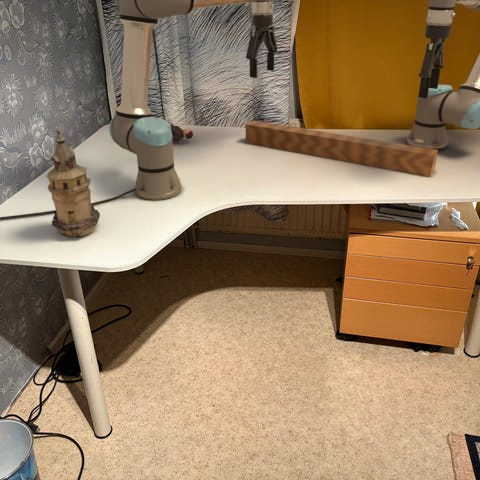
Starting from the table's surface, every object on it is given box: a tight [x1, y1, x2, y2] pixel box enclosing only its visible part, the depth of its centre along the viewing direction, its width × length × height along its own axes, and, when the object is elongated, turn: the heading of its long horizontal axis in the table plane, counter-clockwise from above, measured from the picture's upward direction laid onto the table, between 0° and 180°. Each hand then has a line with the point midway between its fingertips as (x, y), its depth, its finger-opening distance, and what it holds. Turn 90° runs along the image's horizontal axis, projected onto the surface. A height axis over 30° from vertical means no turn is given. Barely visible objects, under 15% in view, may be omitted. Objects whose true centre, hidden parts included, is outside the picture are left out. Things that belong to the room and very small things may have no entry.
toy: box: [169, 123, 194, 144], centre depth 221 cm, size 26×6×30 cm
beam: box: [245, 120, 439, 178], centre depth 203 cm, size 74×6×8 cm, turn 59°
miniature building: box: [46, 129, 101, 237], centre depth 148 cm, size 13×14×30 cm
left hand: (262, 73), depth 205 cm, fingers open, 13 cm apart
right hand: (428, 93), depth 177 cm, fingers open, 13 cm apart
